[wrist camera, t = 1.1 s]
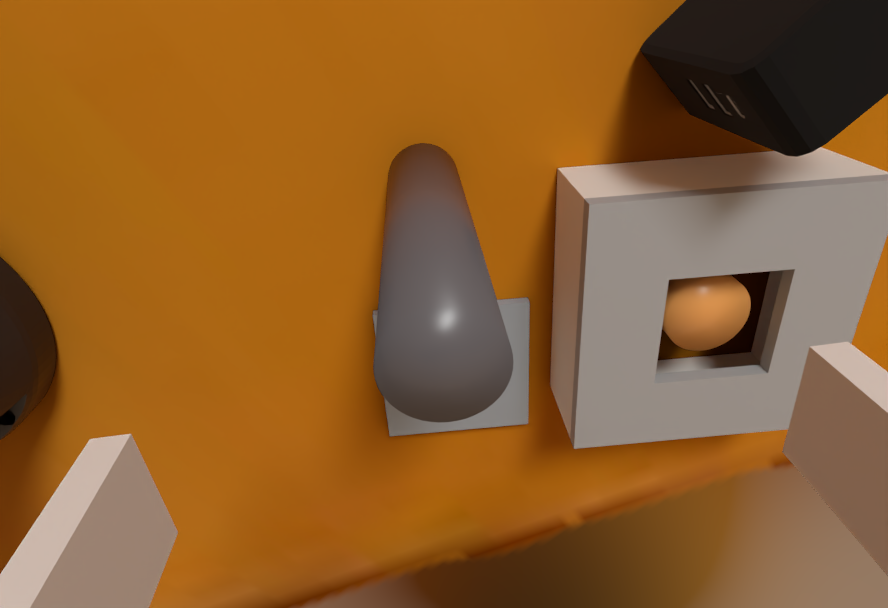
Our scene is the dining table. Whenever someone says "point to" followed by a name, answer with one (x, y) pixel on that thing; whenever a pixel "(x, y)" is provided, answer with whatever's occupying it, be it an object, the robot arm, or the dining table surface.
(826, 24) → the electronic device
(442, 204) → the stylus
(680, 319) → the button
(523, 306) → the pad
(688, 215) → the box
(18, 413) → the robot arm
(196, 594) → the dining table surface
